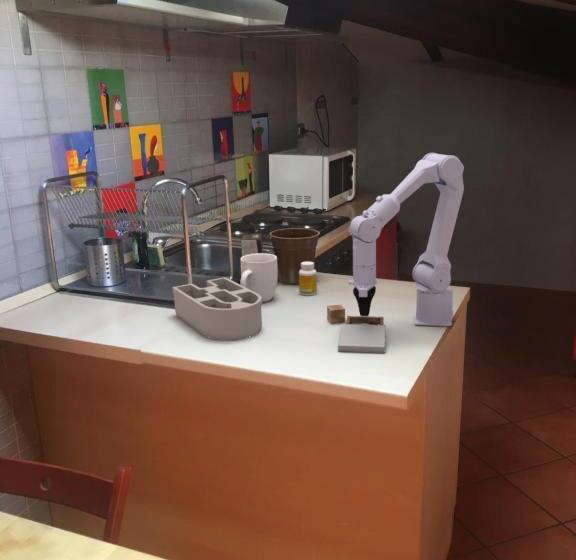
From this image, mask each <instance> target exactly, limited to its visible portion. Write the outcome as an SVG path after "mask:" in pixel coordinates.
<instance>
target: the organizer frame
mask: <svg viewBox="0 0 576 560" xmlns="http://www.w3.org/2000/svg"><path fill="white" fill-rule="evenodd" d="M384 320H385V319H384V316H371V315H369V316H360V315H347V317H346V319H345V324H351V325H359V324H363V323H366V324H370V325H384V322H385V321H384Z"/></svg>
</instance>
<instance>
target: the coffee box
mask: <svg viewBox="0 0 576 560" xmlns="http://www.w3.org/2000/svg"><path fill="white" fill-rule="evenodd" d="M240 239H241V240H240V241H241V242H240V243H241V257H243V256H245V255H249V254H257V253H264V252H263V234H262V233H250V234H247V233H246V234H242V236H241V238H240Z"/></svg>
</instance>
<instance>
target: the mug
mask: <svg viewBox="0 0 576 560" xmlns="http://www.w3.org/2000/svg"><path fill="white" fill-rule="evenodd" d="M277 267H278V266H277V257H276V256H275V255H274V254H272V253H264V252H263V253H257V254H249V255H245V256H243V257H242V256H241V257H240V276H241V278H240V285H242V286H244V287H246V288H248V289H250V290H252V291H254V292H256V293H258V294H259V295H260V296H261V298H262V303H267V302H269V301H271V300H272V299H273V297H274V295H275V293H276V291H277V286H278V280H277V278H278V269H277Z"/></svg>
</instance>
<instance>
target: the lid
mask: <svg viewBox="0 0 576 560" xmlns="http://www.w3.org/2000/svg"><path fill="white" fill-rule="evenodd" d="M337 343H338V344H337V350H338V351H337V352H349V353H350V352H351V353H352V352H354V353H377V354H378V353H380V354H384V353H385V352H386V350H385V349H386V325H384V324H383V325H359V324H346V323H340V327H339V336H338V342H337Z"/></svg>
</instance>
